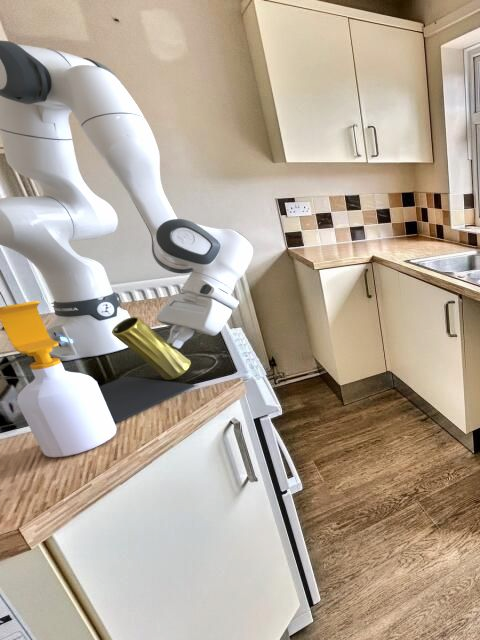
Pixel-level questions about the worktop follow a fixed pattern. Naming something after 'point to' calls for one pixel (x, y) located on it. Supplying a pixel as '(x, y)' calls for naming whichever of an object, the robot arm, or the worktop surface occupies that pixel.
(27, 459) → the worktop surface
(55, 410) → the soap bottle
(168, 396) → the mat
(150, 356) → the vase
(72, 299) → the robot arm
